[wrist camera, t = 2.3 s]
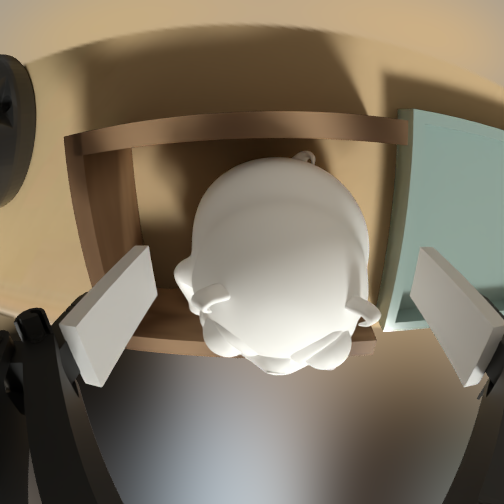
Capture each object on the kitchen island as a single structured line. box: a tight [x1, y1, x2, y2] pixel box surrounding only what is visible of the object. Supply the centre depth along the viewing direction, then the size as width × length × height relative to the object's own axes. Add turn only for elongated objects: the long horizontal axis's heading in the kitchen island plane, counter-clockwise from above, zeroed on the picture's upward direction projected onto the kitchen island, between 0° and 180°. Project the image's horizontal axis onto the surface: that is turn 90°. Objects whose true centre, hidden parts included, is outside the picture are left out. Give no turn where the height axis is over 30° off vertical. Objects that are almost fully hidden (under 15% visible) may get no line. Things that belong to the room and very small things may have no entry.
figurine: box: [174, 151, 381, 375], centre depth 15 cm, size 10×10×12 cm
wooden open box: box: [64, 111, 408, 358], centre depth 18 cm, size 17×14×6 cm
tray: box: [376, 109, 504, 332], centre depth 18 cm, size 16×16×2 cm
